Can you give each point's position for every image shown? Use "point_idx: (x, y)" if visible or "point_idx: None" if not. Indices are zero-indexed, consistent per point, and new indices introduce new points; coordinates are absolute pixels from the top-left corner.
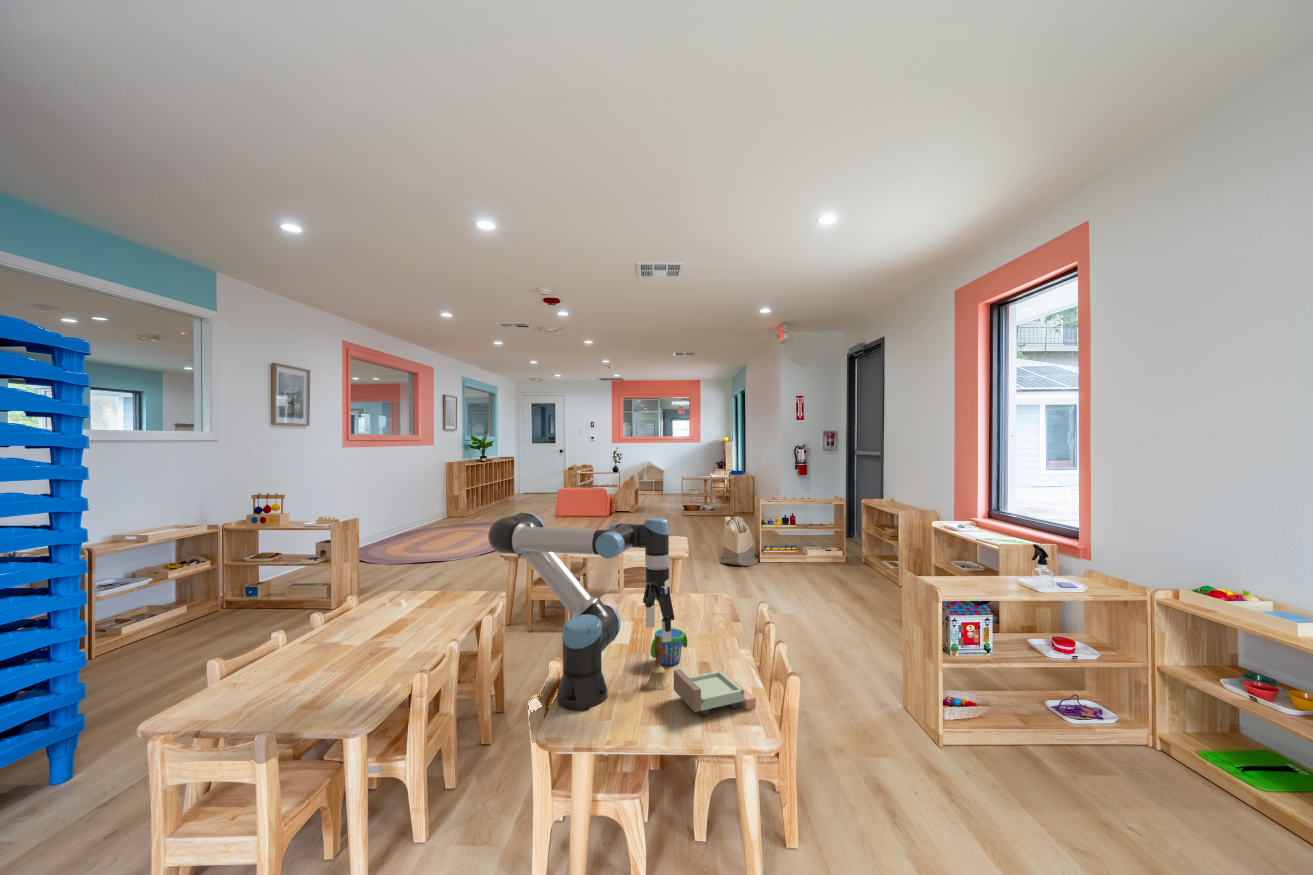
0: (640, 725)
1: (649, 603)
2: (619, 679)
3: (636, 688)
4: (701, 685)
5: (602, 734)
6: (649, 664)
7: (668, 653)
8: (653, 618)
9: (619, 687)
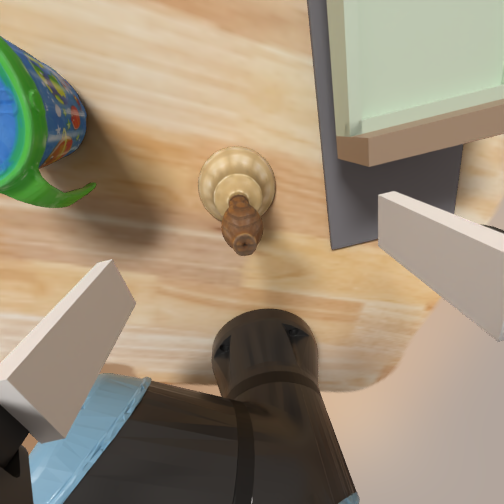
0: None
1: (12, 479)
2: (184, 282)
3: None
4: (400, 50)
5: (404, 315)
6: None
7: (69, 125)
8: (89, 300)
9: (228, 283)
